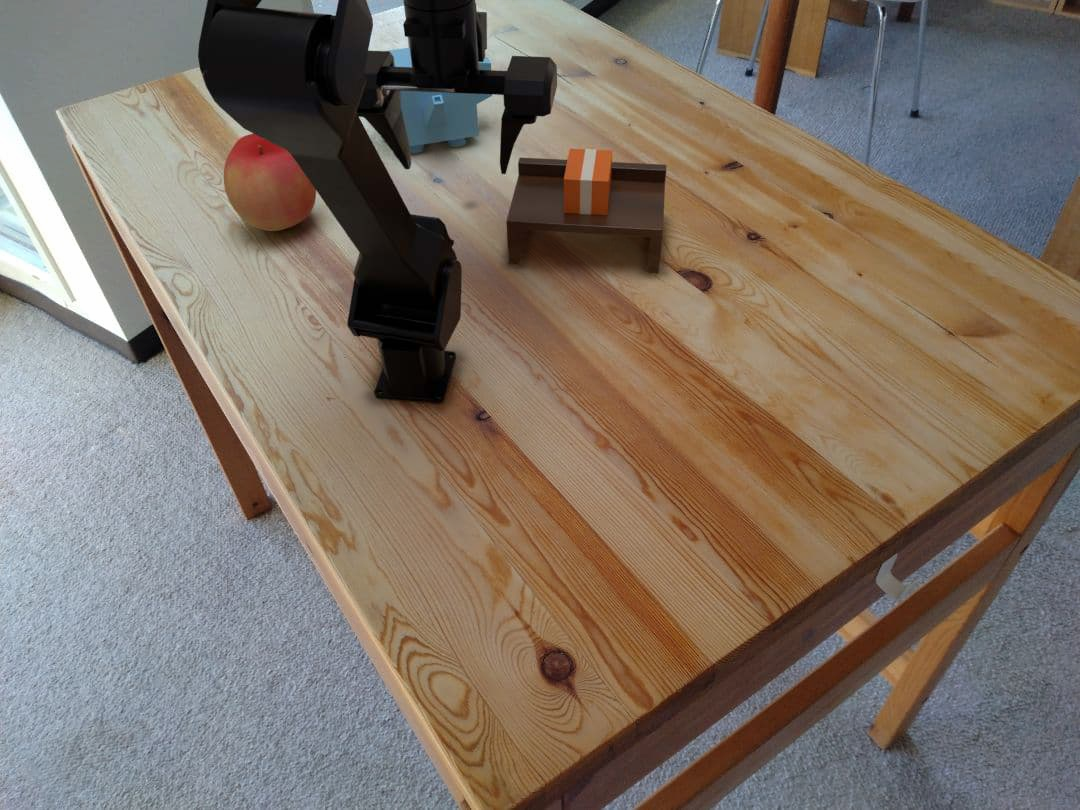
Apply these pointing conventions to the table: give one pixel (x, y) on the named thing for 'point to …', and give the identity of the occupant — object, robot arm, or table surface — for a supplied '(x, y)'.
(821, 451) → the table surface
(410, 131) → the teapot
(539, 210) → the shelf
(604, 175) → the package
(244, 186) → the apple
